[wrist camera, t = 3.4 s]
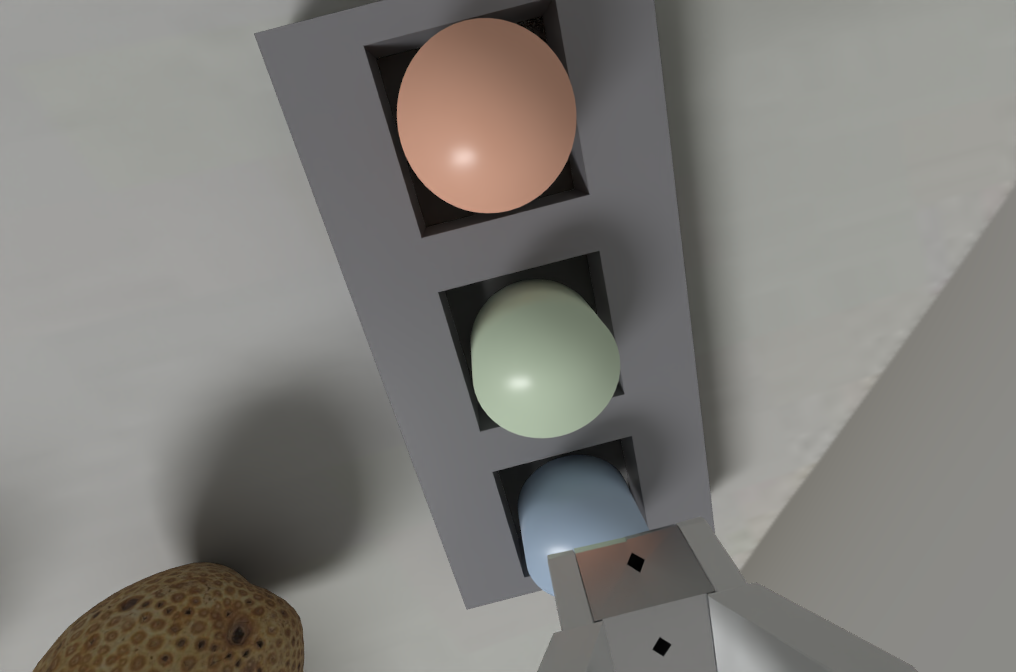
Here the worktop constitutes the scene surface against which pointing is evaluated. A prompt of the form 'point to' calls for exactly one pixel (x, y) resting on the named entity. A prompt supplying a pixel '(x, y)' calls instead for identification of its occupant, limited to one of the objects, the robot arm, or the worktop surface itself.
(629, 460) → the button panel
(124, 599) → the natural sponge
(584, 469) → the slate blue button
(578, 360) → the sage button
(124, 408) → the worktop surface
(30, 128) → the worktop surface
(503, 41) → the terracotta button
